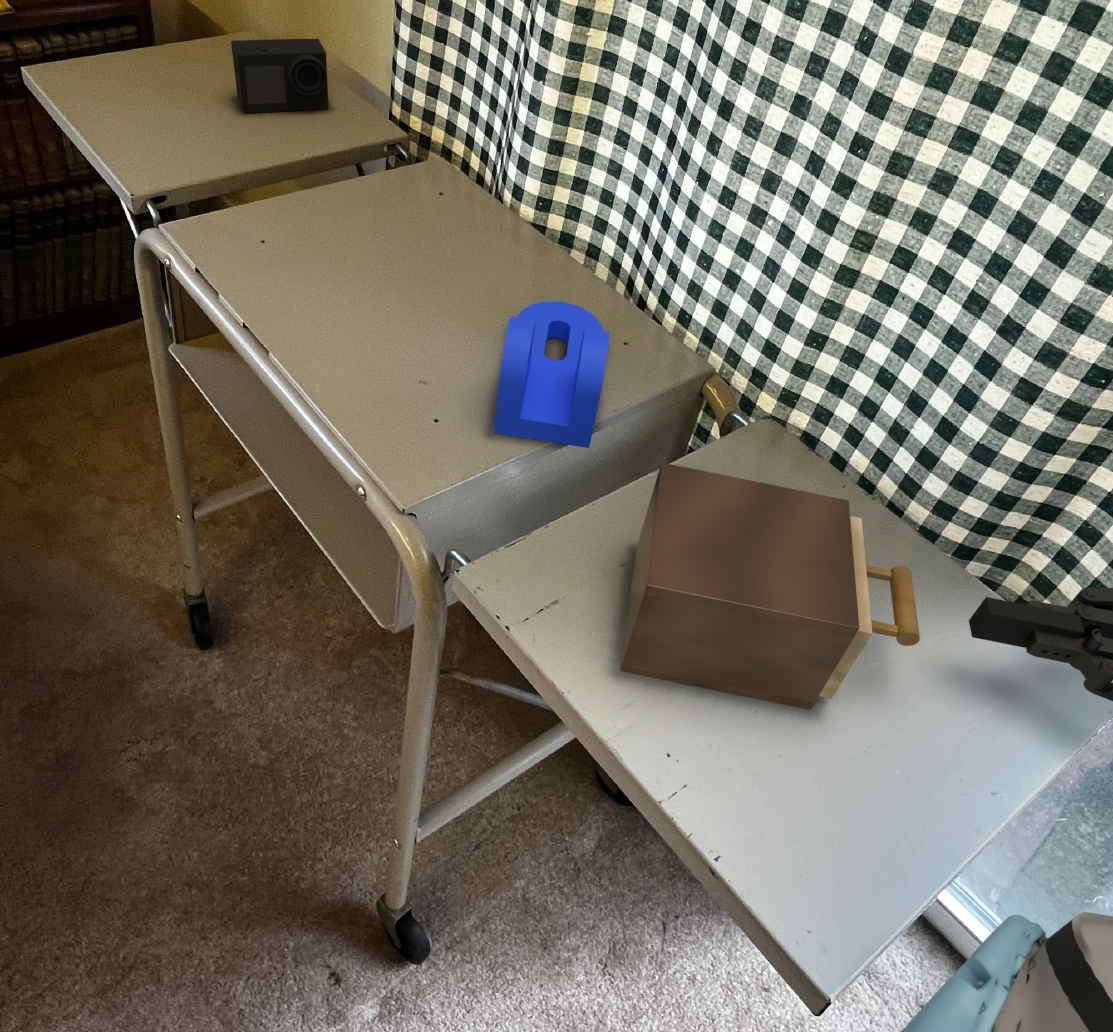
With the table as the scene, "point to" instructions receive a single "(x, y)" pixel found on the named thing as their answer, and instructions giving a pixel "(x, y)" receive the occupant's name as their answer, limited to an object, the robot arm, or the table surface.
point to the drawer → (901, 602)
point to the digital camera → (280, 75)
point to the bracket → (551, 375)
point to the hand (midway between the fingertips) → (979, 617)
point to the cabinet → (741, 587)
